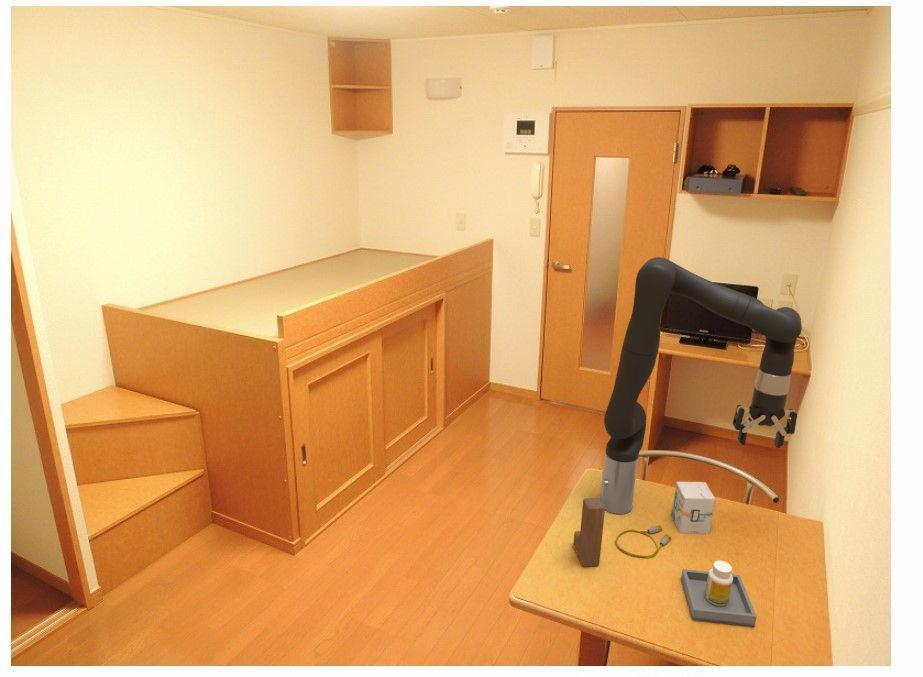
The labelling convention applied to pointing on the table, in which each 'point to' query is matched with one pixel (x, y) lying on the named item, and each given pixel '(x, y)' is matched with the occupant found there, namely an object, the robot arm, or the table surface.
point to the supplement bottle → (719, 583)
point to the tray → (703, 610)
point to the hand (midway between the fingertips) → (759, 445)
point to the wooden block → (590, 532)
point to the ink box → (693, 507)
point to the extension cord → (651, 530)
